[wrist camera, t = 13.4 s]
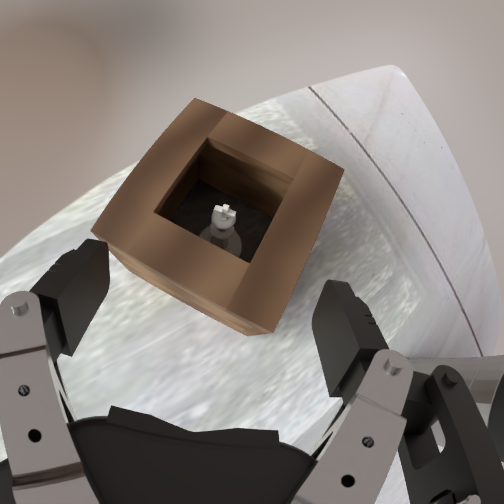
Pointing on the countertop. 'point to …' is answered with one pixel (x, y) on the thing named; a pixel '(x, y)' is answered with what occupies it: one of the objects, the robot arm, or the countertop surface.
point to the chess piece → (223, 230)
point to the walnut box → (236, 185)
